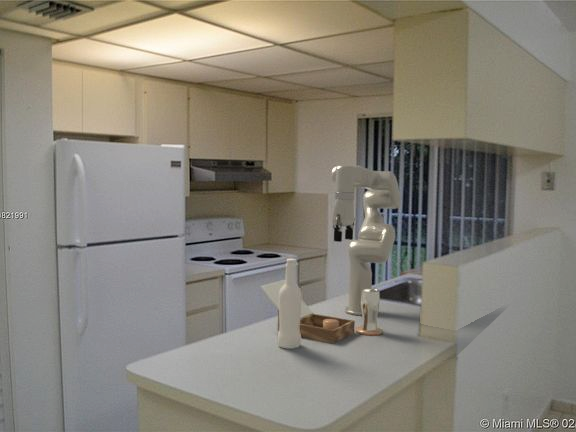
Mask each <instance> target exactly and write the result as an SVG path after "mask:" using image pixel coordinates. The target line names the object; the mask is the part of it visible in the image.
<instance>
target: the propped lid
mask: <svg viewBox="0 0 576 432" xmlns="http://www.w3.org/2000/svg"><path fill="white" fill-rule="evenodd" d="M284 284H285V279H281V280H277V281H274V282H270V283H266V284H263V285H259V289H260V290H261V291H262V292H263V293H264V294H265V296H266V297H267V298H268V299H269V300H270V302H271V303H272V304H273V305H274V306H275V308H277V331H278V332H279V330H280V320H279V292H280V289H281V288H282V286H283V285H284ZM310 314H314V312H313V311H312V309H311V308H310V307H309V306H308V305H307V304H306V303H305V301H304V300H303V299H302V303H301V315H300V318H303V317H305V316H308V315H310Z"/></svg>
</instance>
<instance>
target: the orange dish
mask: <svg viewBox="0 0 576 432" xmlns="http://www.w3.org/2000/svg"><path fill="white" fill-rule="evenodd" d="M361 327H362V325H361V326H357V327H356V328H355V332H356V333H357V334H358V335H362V336H370V337H373V336H380V335H382V334H383V329H381V328H379V327H377V331H373V332H370V331H364V330H362V329H361Z"/></svg>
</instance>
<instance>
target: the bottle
mask: <svg viewBox="0 0 576 432" xmlns="http://www.w3.org/2000/svg"><path fill="white" fill-rule="evenodd" d="M297 262H298V261H297V259H296V258H287V259H286V263H285V277H284V278H285V279H284V280H285V284H284V285H283V286H282V288H281V289H280V292H279V320H280V330H279V331H278V333H277V338H276V339H277V345H278V347H280V348H282V349H286V350H294V349H297V348H299V347H301V345H302V344H301V342H302V337H301V334H300V330H299V328H300V315H301V303H302V300H303V293H302V290H301V288H300V286H298V284H297V266H298V264H297Z"/></svg>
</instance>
